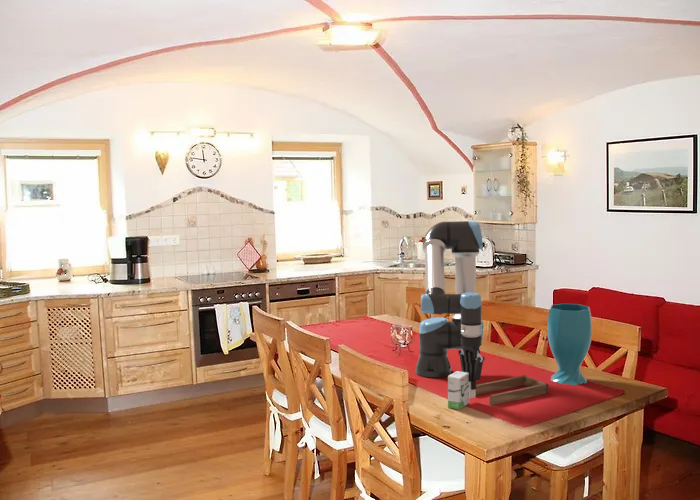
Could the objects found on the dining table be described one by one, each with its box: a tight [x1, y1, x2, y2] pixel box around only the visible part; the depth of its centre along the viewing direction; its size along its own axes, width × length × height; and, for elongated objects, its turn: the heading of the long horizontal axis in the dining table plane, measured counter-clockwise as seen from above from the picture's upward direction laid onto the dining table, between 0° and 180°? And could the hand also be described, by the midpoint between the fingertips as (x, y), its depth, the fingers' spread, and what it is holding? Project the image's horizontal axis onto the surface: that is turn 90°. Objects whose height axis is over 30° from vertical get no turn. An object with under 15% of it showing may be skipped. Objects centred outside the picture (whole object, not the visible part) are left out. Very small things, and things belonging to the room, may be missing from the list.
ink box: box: [447, 370, 470, 410], centre depth 242 cm, size 9×5×12 cm, turn 146°
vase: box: [546, 303, 593, 386], centre depth 269 cm, size 17×17×30 cm
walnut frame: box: [475, 375, 549, 406], centre depth 254 cm, size 13×27×4 cm, turn 117°
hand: (471, 397), depth 246 cm, fingers closed
